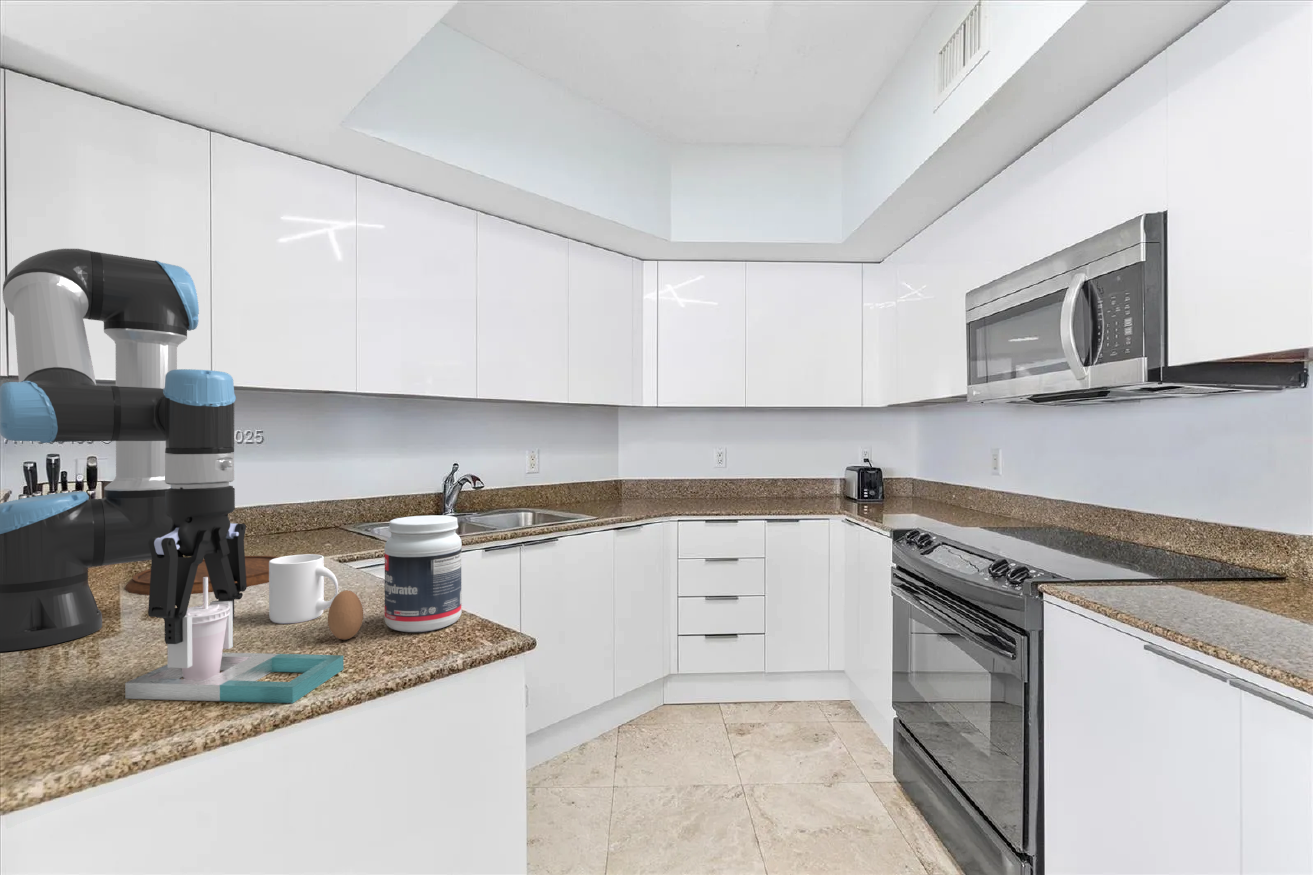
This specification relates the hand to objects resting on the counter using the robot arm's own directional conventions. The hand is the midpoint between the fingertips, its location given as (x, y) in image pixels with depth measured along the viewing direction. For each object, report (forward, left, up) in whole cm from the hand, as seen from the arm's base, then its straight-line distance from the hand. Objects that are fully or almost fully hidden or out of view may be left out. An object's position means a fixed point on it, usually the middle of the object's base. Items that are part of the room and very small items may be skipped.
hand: (201, 656), depth 83 cm
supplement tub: (+18, +27, -4) cm, 33 cm away
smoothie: (0, 0, -4) cm, 4 cm away
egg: (+9, +18, -4) cm, 21 cm away
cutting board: (-46, +58, -4) cm, 74 cm away
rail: (+5, 0, -3) cm, 6 cm away
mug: (-5, +29, -4) cm, 30 cm away
